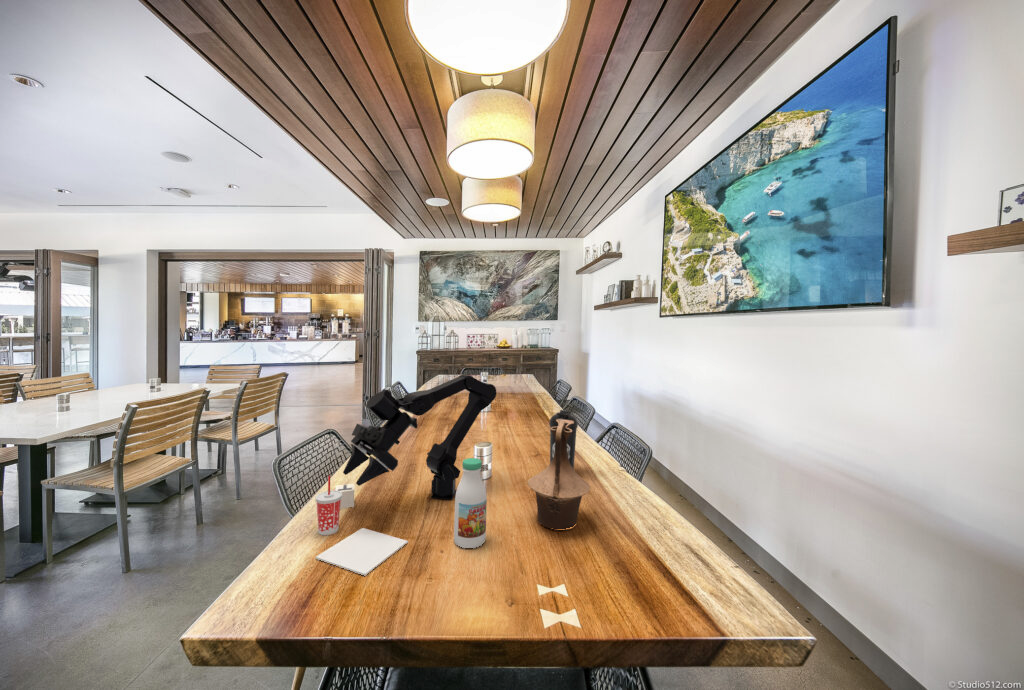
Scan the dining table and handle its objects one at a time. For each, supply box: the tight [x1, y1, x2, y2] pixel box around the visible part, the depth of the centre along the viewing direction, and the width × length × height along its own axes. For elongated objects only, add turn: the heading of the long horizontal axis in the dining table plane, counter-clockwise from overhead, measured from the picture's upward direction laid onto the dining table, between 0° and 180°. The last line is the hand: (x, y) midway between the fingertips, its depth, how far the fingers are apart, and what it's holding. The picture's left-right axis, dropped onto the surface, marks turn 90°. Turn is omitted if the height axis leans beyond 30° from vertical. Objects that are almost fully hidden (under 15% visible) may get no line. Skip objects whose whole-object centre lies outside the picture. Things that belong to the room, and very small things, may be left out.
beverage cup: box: [315, 475, 342, 536], centre depth 98 cm, size 6×6×14 cm
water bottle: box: [548, 409, 579, 471], centre depth 141 cm, size 10×10×23 cm
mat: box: [315, 527, 409, 577], centre depth 89 cm, size 14×14×1 cm
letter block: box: [334, 483, 355, 510], centre depth 112 cm, size 5×5×5 cm
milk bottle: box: [453, 457, 488, 549], centre depth 95 cm, size 8×8×20 cm
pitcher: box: [527, 419, 591, 529], centre depth 106 cm, size 18×17×28 cm
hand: (350, 479), depth 101 cm, fingers open, 9 cm apart
